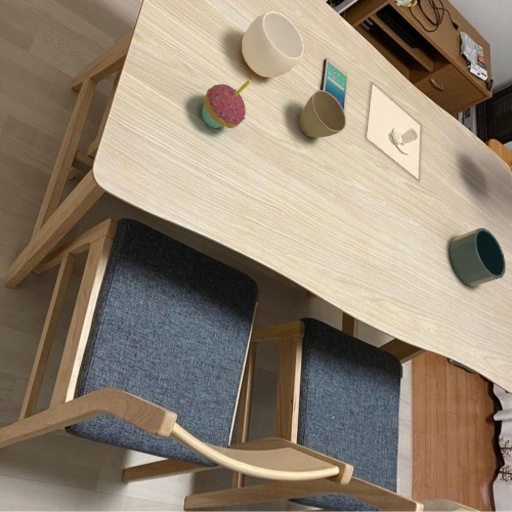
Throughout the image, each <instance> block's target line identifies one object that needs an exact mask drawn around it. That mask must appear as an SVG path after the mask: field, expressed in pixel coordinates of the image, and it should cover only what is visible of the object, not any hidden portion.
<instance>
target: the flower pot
mask: <svg viewBox="0 0 512 512" xmlns="http://www.w3.org/2000/svg"><path fill="white" fill-rule="evenodd" d="M345 113H346V112H345ZM345 113H344V110H343V108H342V106H341V105H340V103H339V102H338V101H337V99H336V98H335V97H334V96H332V95H331V94H330V93H328V92H326V91H323V90H322V89H319V90H316V91H315V92H313V94H312V95H311V96H310V97H309V98H308V100H307V101H306V103H305V105H304V107H303V108H302V111H301V113H300V116H299V120H298V124H299V127H300V130H301V131H302V133H303V134H304V135H306V136H307V137H309V138H326V137H330V136H333V135H336V134H339V133H341V132H342V131H344V130H345V128H346V126H347V117H346V114H345Z"/></svg>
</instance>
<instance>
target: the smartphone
mask: <svg viewBox="0 0 512 512" xmlns="http://www.w3.org/2000/svg"><path fill="white" fill-rule="evenodd" d="M348 77H349V75H348V72H347V71H346V70H345V69H343V68H342V66H340V65H339V64H337V63H336V62H335V61H334V60H332V59H331V58H330V57H326V58H325V59H324V64H323V74H322V83H321V90H323V91H326V92H328V93H330V94H331V95H332V96H334V97H335V98H336V99H337V101H338V102H339V103H340V105H341V106H342V108H343V110H344V113H346V103H347V101H346V100H347V89H348Z"/></svg>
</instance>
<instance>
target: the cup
mask: <svg viewBox="0 0 512 512" xmlns="http://www.w3.org/2000/svg"><path fill="white" fill-rule="evenodd" d="M304 52H305V45H304V40H303V38H302V35H301V33H300V31H299V30H298V29H297V27H296V25H295V24H294V23H293V22H292V21H291V20H290V19H289V18H288V17H287V16H286V15H284V14H283V13H280V12H278V11H274V10H270V11H269V10H268V11H267V12H264V13H262V14H260V15H259V16H257V17H256V18H255V19H254V20H253V21H252V22H251V23H250V24H249V26H248V27H247V29H246V31H245V33H244V35H243V37H242V40H241V54H242V56H243V60H244V61H245V63H246V65H247V66H248V68H250V70H252V71H253V72H255V74H256V75H259V76H260V77H262V78H273V79H275V78H278V77H280V76H283V75H285V74H286V73H288V72H290V71H291V70H292V69H293V68H295V67H296V66H297V65H298V63H299V62H300V60H301V59H302V57H303V54H304Z"/></svg>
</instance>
